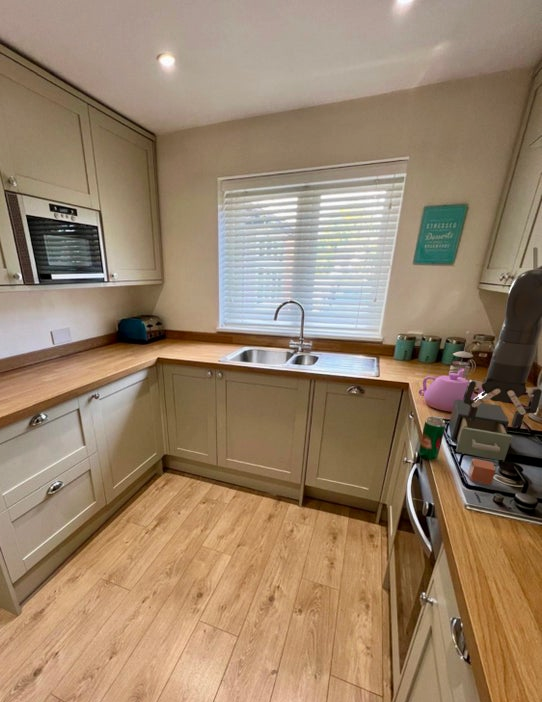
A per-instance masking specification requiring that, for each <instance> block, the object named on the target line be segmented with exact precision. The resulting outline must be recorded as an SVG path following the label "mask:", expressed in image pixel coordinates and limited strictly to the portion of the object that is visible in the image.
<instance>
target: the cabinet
mask: <svg viewBox="0 0 542 702" xmlns="http://www.w3.org/2000/svg"><path fill="white" fill-rule="evenodd" d="M469 408H470V405H469V404H465V403H464V400H458V399H455V402H454V406H453V410H452V412H451V413H450V414H451V415H450V419H449V422H448V427H449V434H450V441H451V440H452V441H451V442H453V441H454V442H455V443H458V441H457V436H456V433H457V429H458V425H459V422H460V418H461V417H466V418H469V417H468V412H469ZM477 408H478V409H477V413H476V416H475V419H479V420H485V421H491V422H498V423H502V424H503V426H504V428H505V430H506V431H508V427H509V424H510V421H509V419H508V417H507V416H506V413H505V412H504V411H505V410H504V409H503V408H502V406H501V405H499V404H494V403H493V404H492V403H485V402H484V403H481V404H480V405H478V406H477Z"/></svg>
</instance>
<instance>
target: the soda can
mask: <svg viewBox="0 0 542 702" xmlns="http://www.w3.org/2000/svg"><path fill="white" fill-rule="evenodd" d="M446 425H447V424H446V420H445V419H443V418H441V417H436V416H428V417H427V418H426V420H425V421H424V424H423V428H422V429H423V430H422V432H421V433H422V434H421V437H420V438H421V439H420V442H419V447H418V452H417V454H418V456H419V457H420V458H421V459H423V460H425V461H435V460H438V457H439V454H440V451H441V445H442V443H443V438H444V435H445V430H446Z"/></svg>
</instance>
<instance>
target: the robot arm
mask: <svg viewBox="0 0 542 702" xmlns="http://www.w3.org/2000/svg"><path fill="white" fill-rule="evenodd" d="M541 333H542V265H540V266H538V267H537V268H533V269H529V270H527V271H524V272H522V273H521V274H519V275H518V276H516V278H515V279H514V280H513V281H512V283H511V285H510V288H509V290H508V294H507V300H506V305H505V316H504V320H503V323H502V326H501V328H500V333H499V336H498V340H497V342H496V345H495V347H494V348H493V352H492V356H491V359H490V362H489V366H488V369H487V373H486V375H485V379H484V380H483V381H480V380H479V381H478V380H475V379H474V378H471V379H468V381H469V383H468V385H467V388H466V391H465V394H464V397H463V400H464V403H465V404H469V405H470V408H469V412H468V417H469V418H470V420H471V421H474V420H475V416H476V413H477V409H478V408H477V406H478V405H480V404H481V403H485V402H487V401H489V400H490V401H492V402H502V403H505V404H509V403H511V402H512V404H513V405H514V407H515V408H516V410H515V412H514V415H513V418H512V421H511V423H510V424H511V427H512V428H513V429H517V428H518V427H520V426H522V423H523V420H524V417H525V415H528V414H532V415H533V414H536V413H537V411H538V407H539V404H540V401H541V396H542V389H541V388H539V386H533V387H528V386H526V383H527V381H528V378H529V375H530V372H531V368H532V365H533V363H534V362H535V357H536V354H537V349H538V348H537V346H538V343H539V340H540V337H541ZM480 386H481V387H482V389H483V392H482V393H481V394H479V395H478V394H477V395H478V396H477V395H476V396H477V397H475V398H474V399H473V400H472V399H471V396H472V393H473V392H474V391H476V390H479V389H478V387H480ZM524 394H527V396H528V397H529V400H528V403H527V406H524V405H523V404H522V402H521V401H520V400H519V398H520V397H521V396H523V395H524Z"/></svg>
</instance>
